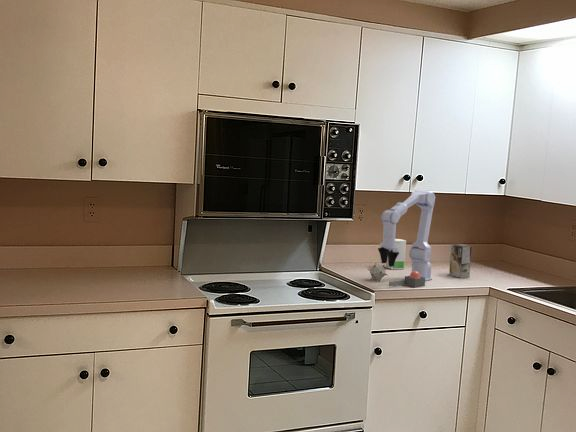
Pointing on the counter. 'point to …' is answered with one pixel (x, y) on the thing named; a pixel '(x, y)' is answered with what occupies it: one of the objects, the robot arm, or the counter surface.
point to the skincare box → (399, 255)
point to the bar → (396, 282)
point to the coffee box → (460, 260)
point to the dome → (415, 275)
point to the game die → (377, 272)
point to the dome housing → (414, 281)
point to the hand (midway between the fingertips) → (387, 264)
